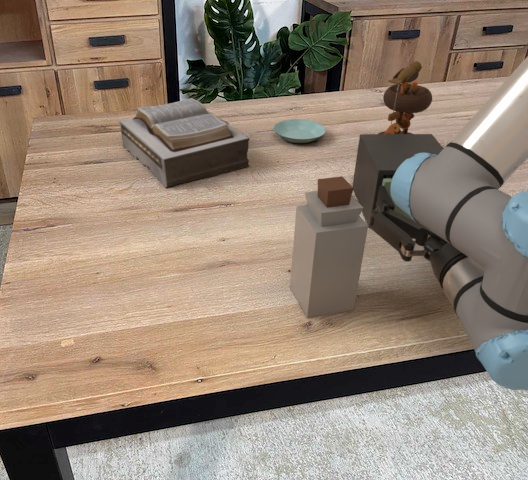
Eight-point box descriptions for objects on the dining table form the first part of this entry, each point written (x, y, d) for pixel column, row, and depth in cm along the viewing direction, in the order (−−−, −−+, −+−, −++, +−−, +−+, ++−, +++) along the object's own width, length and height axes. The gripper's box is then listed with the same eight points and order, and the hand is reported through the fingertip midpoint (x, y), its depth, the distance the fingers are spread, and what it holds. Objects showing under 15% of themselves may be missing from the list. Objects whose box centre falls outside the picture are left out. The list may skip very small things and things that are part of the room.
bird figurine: (415, 172, 107) (427, 71, 96) (361, 165, 112) (367, 68, 102) (432, 145, 118) (444, 51, 107) (382, 140, 123) (389, 50, 113)
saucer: (331, 132, 125) (332, 123, 124) (315, 151, 116) (316, 141, 115) (283, 125, 130) (284, 116, 128) (265, 142, 121) (265, 133, 120)
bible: (214, 127, 129) (214, 87, 124) (256, 173, 108) (258, 127, 102) (119, 140, 124) (114, 98, 118) (143, 192, 102) (138, 144, 97)
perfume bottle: (333, 280, 78) (349, 168, 68) (353, 310, 72) (373, 193, 63) (289, 287, 77) (299, 174, 67) (306, 317, 71) (319, 199, 62)
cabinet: (446, 228, 89) (461, 169, 83) (368, 228, 90) (378, 170, 84) (419, 187, 102) (431, 133, 96) (352, 187, 102) (359, 134, 96)
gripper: (369, 300, 68) (340, 213, 86) (562, 301, 67) (491, 214, 85) (378, 251, 64) (345, 171, 82) (584, 252, 63) (504, 171, 81)
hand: (420, 193), depth 84 cm, fingers closed on drawer, 12 cm apart
